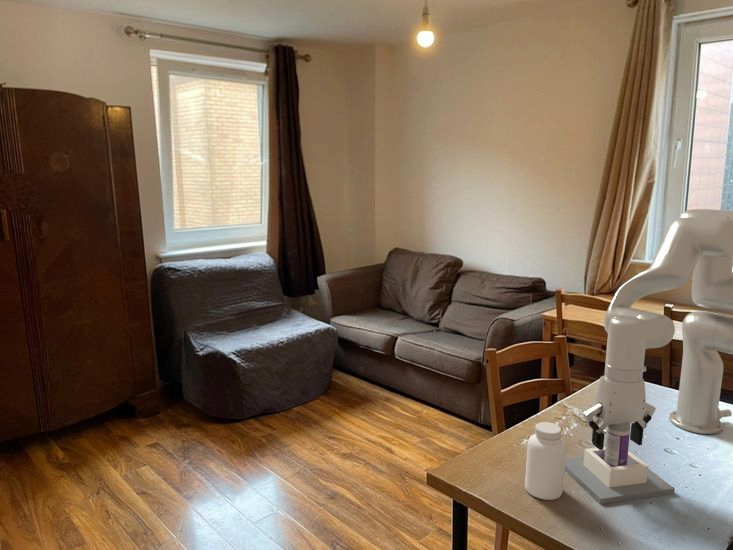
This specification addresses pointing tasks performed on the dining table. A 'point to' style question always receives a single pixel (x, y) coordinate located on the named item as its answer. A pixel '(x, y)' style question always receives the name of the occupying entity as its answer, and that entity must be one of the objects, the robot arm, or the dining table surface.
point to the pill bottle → (545, 462)
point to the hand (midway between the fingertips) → (616, 444)
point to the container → (617, 444)
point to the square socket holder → (615, 478)
